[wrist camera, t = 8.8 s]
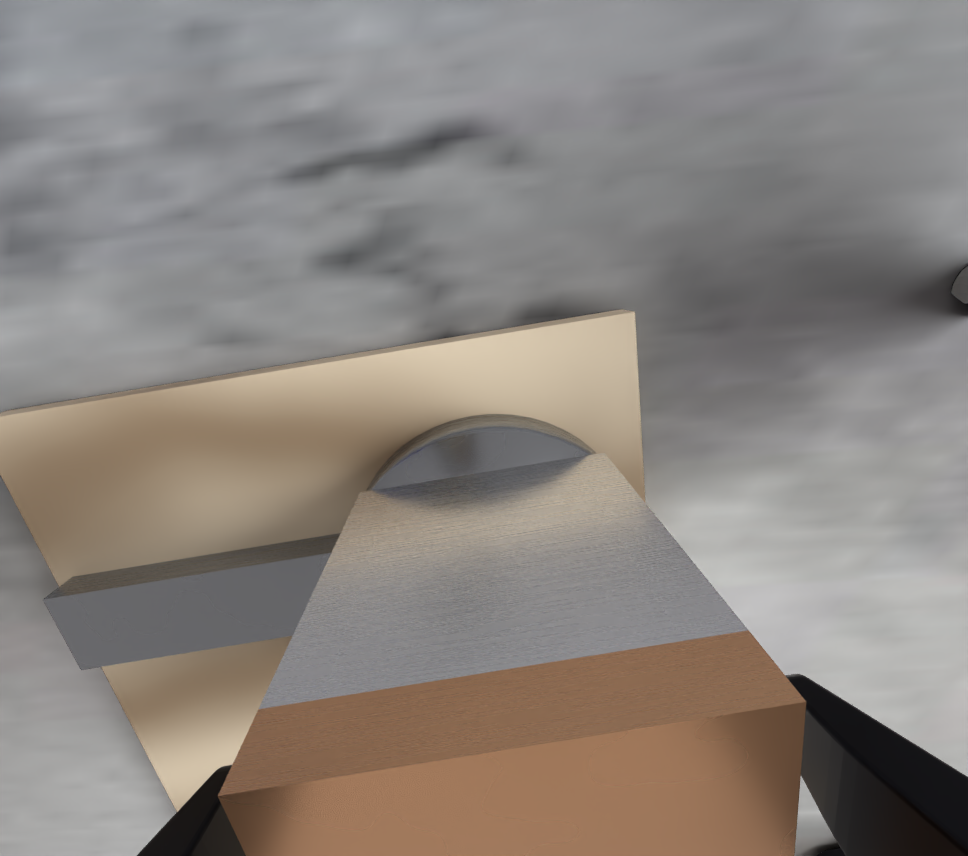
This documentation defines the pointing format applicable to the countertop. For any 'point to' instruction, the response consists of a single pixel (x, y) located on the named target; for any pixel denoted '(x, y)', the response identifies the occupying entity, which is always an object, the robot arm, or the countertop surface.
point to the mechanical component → (961, 286)
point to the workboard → (280, 481)
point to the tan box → (518, 687)
